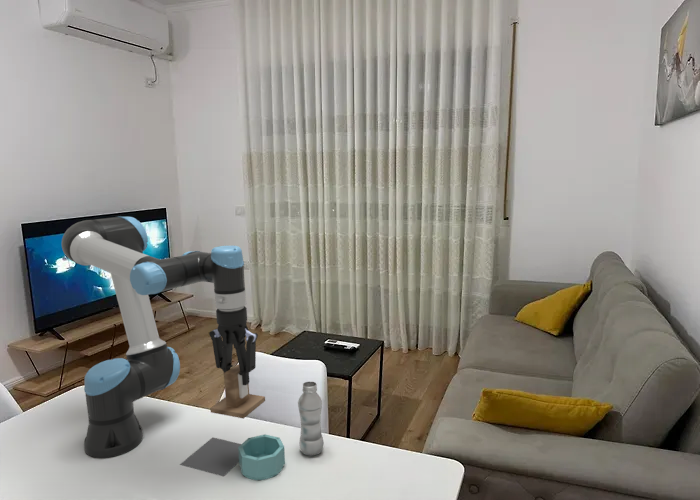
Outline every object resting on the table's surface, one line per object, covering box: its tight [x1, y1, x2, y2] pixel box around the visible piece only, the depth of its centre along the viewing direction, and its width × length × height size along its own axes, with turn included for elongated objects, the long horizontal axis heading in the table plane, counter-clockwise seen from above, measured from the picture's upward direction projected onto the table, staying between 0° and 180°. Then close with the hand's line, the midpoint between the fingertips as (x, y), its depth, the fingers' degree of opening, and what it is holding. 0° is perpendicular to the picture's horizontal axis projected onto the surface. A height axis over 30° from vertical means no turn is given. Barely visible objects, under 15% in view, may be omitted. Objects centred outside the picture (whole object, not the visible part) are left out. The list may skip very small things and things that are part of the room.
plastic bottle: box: [297, 381, 324, 457], centre depth 135 cm, size 6×7×20 cm
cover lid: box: [209, 363, 266, 419], centre depth 128 cm, size 10×10×10 cm
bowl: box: [238, 433, 286, 481], centre depth 130 cm, size 11×11×6 cm
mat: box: [179, 437, 242, 477], centre depth 135 cm, size 14×14×1 cm
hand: (237, 394), depth 129 cm, fingers closed on cover lid, 3 cm apart
